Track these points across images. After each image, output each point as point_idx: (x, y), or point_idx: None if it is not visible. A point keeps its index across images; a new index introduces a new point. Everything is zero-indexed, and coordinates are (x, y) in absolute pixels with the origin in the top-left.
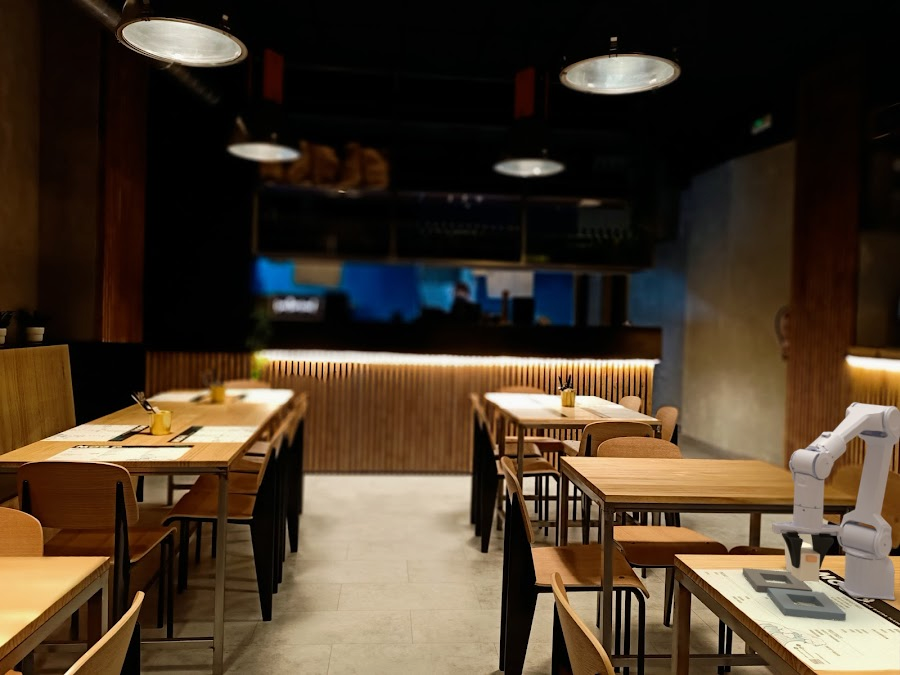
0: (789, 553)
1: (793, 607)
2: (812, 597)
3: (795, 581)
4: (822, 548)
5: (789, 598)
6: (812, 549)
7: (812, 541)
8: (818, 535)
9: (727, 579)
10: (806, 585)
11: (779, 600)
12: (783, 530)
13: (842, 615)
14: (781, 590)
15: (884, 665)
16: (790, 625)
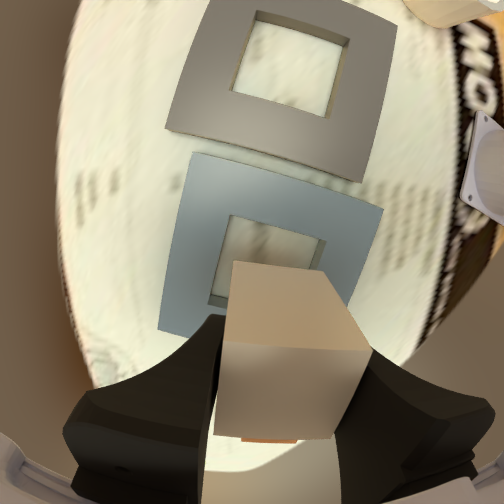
0: (189, 338)
1: (186, 327)
2: (319, 238)
3: (353, 94)
4: (344, 471)
5: (216, 258)
6: (495, 12)
7: (394, 402)
8: (389, 500)
9: (138, 29)
10: (369, 138)
11: (169, 274)
12: (57, 500)
13: None
14: (233, 181)
15: (240, 469)
16: (151, 366)
